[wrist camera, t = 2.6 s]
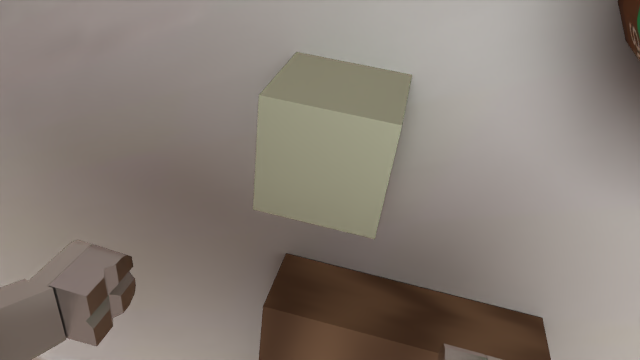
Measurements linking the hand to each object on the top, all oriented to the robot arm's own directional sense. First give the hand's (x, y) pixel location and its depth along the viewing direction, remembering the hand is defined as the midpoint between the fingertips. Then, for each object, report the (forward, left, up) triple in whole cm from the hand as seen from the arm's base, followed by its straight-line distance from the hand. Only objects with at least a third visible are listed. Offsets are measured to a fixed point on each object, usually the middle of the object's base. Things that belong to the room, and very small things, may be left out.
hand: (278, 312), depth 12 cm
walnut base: (+4, -16, -12) cm, 20 cm away
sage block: (0, 0, -12) cm, 12 cm away
